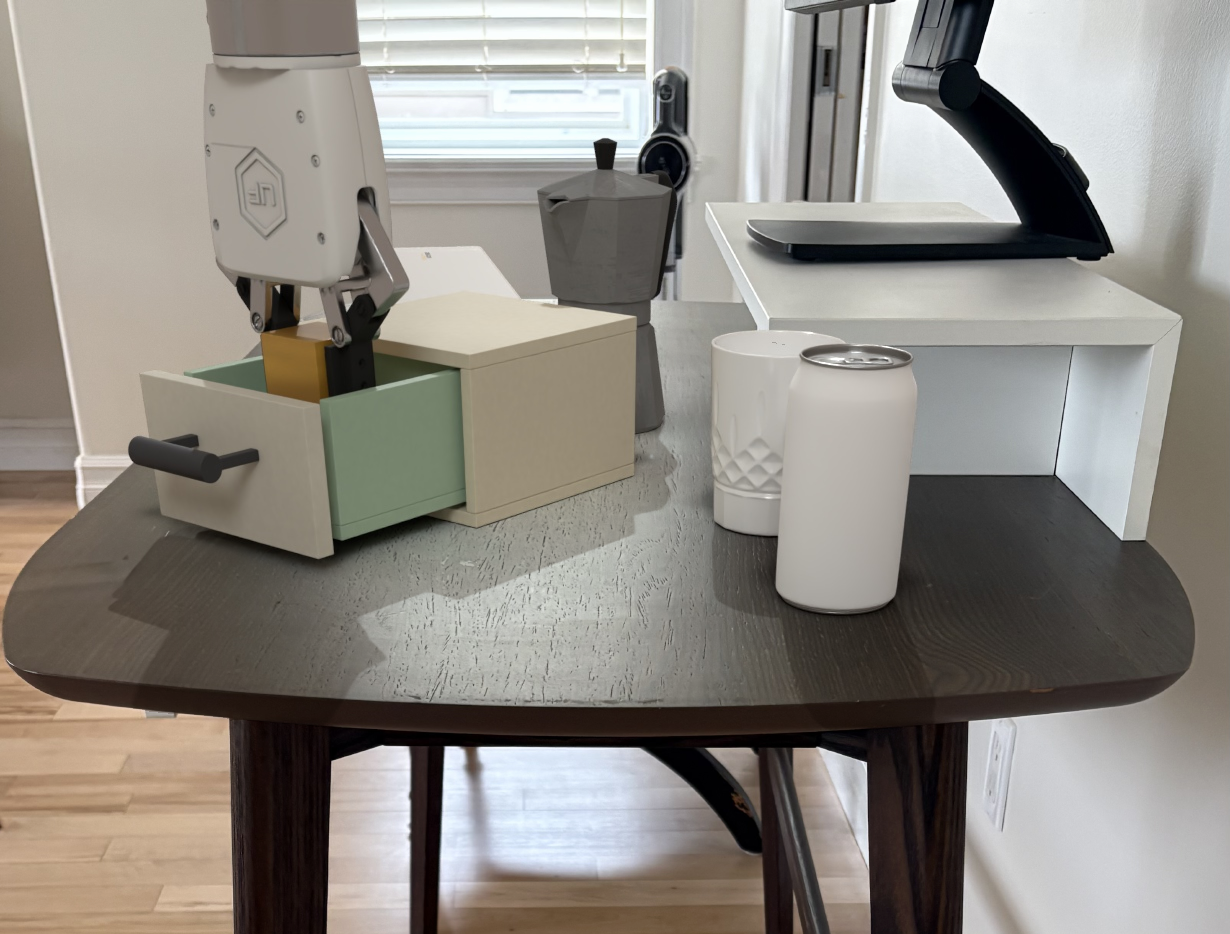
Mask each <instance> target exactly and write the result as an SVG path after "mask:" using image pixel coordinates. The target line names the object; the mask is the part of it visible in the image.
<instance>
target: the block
mask: <svg viewBox="0 0 1230 934" xmlns="http://www.w3.org/2000/svg"><path fill="white" fill-rule="evenodd" d="M260 335H261V339H260V343H261V342H262V347H261V352H262V351H263V359H264V367H265V375H266V384H267V392H268V394H273V395H278V396H283V397H287V398H292V399H297V400H302V401H306V402H311V403H316V404H319V405H320V400H321V399H325V398H329V393H328V383H327V373H326V363H325V350H324V346H329V345H333V342H332V340H331V337H330V333H329V329H328V325H327V323H324V322H318V321H317V322H312V323H307V324H302V325H298V326H293V327H288V328H283V329H278V330H273V331H268V332H263V333H260ZM320 413H321V411H320ZM321 424H322V422H321Z"/></svg>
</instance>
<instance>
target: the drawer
mask: <svg viewBox="0 0 1230 934" xmlns="http://www.w3.org/2000/svg"><path fill="white" fill-rule="evenodd" d="M373 355H374V367H375V379H376V387H372V388H368V389H364V390H360V391H355V392H351V393H347V394H343V395H338V396H334V397H330V398H325V399H321V400H320V405H319V404H316V403H311V402H306V401H302V400H297V399H292V398H287V397H283V396H278V395H273V394H268V393H267V388H266V380H265V372H264V363H263V355H262V354H261V355H259V356H258V355H257V356H253V357H248V358H243V359H238V360H233V361H228V362H223V363H218V364H212V365H209V366H202V367H198V368H194V369H189V370H188V369H187V370H185V371H183V374H178V373H173V372H168V371H164V370H159V369H153V370H149V371H148V370H147V371H142V372H139V381H140V387H141V393H142V402H143V407H144V413H145V421H146V425H147V426H146V427H147V432H148V437H147V436H144V435H143V436H142V435H136V436H134V437H132V439H130V441H129V442H128V447H127V454H128V457H129V459H130V461H131V462H132V463H133V464H135V465H137V466H141V467H145V468H148V469H152V470H153V472H154V477H155V484H156V490H157V496H158V497H157V498H158V503H159V510H160V515H161V516H163V517H168V518H171V519H174V520H178V521H181V522H184V523H189V524H192V525H195V526H200V527H203V528H206V529H210V530H213V531H217V532H220V533H223V534H228V535H231V536H234V537H238V538H242V539H245V540H249V541H252V542H256V543H259V544H263V545H267V546H270V547H274V548H278V549H281V550H285V551H288V552H292V553H296V554H299V555H302V556H306V557H308V558H313V559H317V560H321V559H324V558H326V557H330V556H333V555H334V554H335V552H334V541H333V539H335V540H339V541H345V540H348V539H352V538H354V537H355V538H356V537H358V536H362V535H364V534H368V533H371V532H374V531H377V530H380V529H383V528H387V527H389V526H393V525H397V524H399V523H402V522H405V521H409V520H412V519H414V518H418V517H422V516H426V515H425V514H428V513H431V512H434V511H437V510H441V509H444V508H447V507H450V506H453V505H456V504H460V503H463V502H466V482H465V460H464V438H463V416H462V394H461V372H460V369H461V368H458V367H453V366H447V365H442V364H436V363H431V362H425V361H420V360H414V359H409V358H403V357H398V356H392V355H387V354H381V353H376V352H373ZM320 411H321V413H320ZM321 422H322V424H321Z"/></svg>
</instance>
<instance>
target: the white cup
mask: <svg viewBox="0 0 1230 934" xmlns="http://www.w3.org/2000/svg"><path fill="white" fill-rule="evenodd" d="M772 342H776V343H777V344H776V343H772ZM782 344H785V345H782ZM828 344H849V343H848V342H847V341H846V340H844V339H842V338H839V337H836V336H832V335H828V334H824V333H818V332H811V331H802V330H789V329H788V330H787V329H756V330H742V331H735V332H734V331H733V332H729V333H724V334H721V335H720V334H719V335H718V336H715V337H714V338H713V339H712V340H711V341H710V450H711V472H712V475H713V521H714V522H715V523H716V524H717V525H718V526H719V525H720V526H721V527H722V528H724V529H726V530H729V531H733V532H735V533H736V532H737V533H740V534H745V535H753V536H764V537H778V534H779V519H780V504H781V489H782V474H783V459H784V445H785V431H786V417H787V404H788V394H789V387H790V384H791V381H792V379H793V377H794V375H795V373H796V371H797V369H798V367H799V365H800V361H801V358H800V356H799V354H800V352H801V351H802V350H804V349H806V348H809V347H813V346H819V345H828Z"/></svg>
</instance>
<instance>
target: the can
mask: <svg viewBox="0 0 1230 934" xmlns="http://www.w3.org/2000/svg"><path fill="white" fill-rule="evenodd" d="M799 356H800V358H801V361H800V365H799V367H798V369H797V371H796V373H795V375H794V377H793V379H792V381H791V384H790V387H789V394H788V404H787V417H786V431H785V445H784V459H783V474H782V489H781V504H780V519H779V534H778V536H777V551H776V568H775V590H776V592H778V594H779V595H780V597H781V599H782V600H783V601H784V602H785V603H786V604H788V605H789V606H790V607H793V608H796V609H799V610H802V611H805V612H809V613H815V614H822V615H831V616H852V615H853V616H854V615H861V614H862V615H863V614H867V613H872V612H876V611H879V610H882V609H883V608H886V606H887V605H889V604H890V601H892V600H893V599H894V598H895V596H896V594H897V589H898V579H899V572H900V563H901V556H902V555H901V554H902V546H903V540H904V539H903V537H904V529H905V519H906V512H907V511H906V510H907V502H908V493H909V485H910V477H911V476H910V475H911V466H912V457H913V449H914V439H915V430H916V422H917V421H916V420H917V410H918V400H919V399H918V397H919V390H918V389H919V388H918V385H917V382H916V379H915V376H914V373H913V368H912V363H913V362H914V359H915V357H914V355H913V354H912V353H910V352H909V351H906V350H903V349H900V348H896V347H892V346H885V345H877V344H868V343H867V344H866V343H848V344H828V345H819V346H813V347H809V348H806V349H804V350H802V351H801V352H800V354H799Z"/></svg>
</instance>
